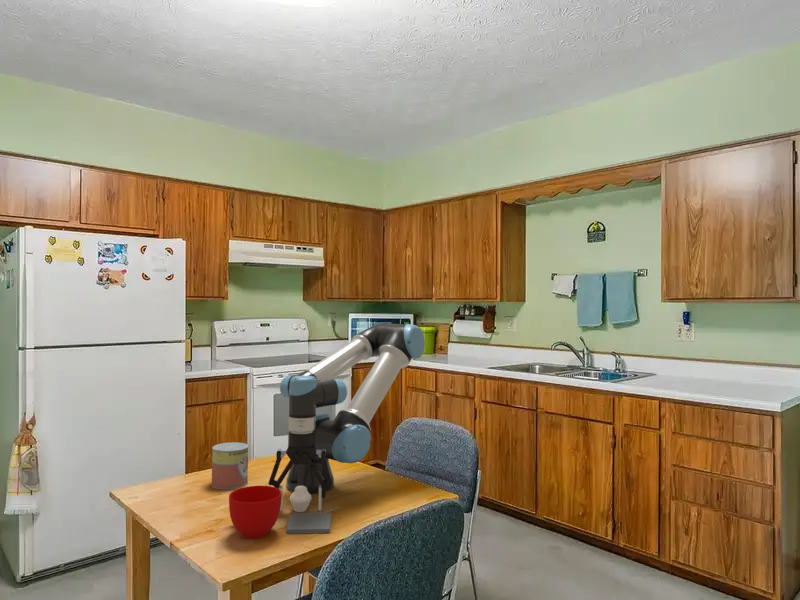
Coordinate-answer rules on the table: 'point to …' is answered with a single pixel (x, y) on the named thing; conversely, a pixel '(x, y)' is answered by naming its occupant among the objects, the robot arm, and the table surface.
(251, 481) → the table surface
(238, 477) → the canned food
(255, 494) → the ceramic cup
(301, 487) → the white fluted round figurine
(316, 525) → the coaster
